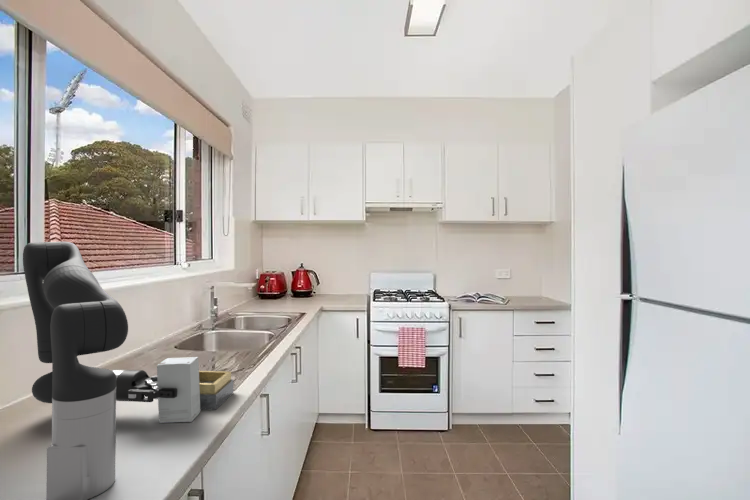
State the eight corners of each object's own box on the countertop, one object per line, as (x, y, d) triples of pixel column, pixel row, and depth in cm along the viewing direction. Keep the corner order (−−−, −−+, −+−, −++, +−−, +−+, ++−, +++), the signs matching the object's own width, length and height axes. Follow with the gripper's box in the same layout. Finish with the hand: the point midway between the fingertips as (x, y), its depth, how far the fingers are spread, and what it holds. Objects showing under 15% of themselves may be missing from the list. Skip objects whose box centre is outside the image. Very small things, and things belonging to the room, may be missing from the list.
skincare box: (200, 413, 102) (201, 356, 102) (191, 423, 96) (191, 363, 96) (167, 413, 101) (168, 356, 101) (155, 423, 95) (156, 363, 95)
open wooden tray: (215, 409, 104) (216, 385, 104) (163, 408, 104) (164, 384, 104) (237, 389, 119) (237, 367, 119) (191, 388, 119) (191, 366, 119)
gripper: (102, 380, 92) (170, 381, 91) (140, 362, 106) (199, 363, 105) (101, 411, 92) (170, 413, 91) (139, 389, 106) (199, 391, 105)
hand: (185, 386), depth 98 cm, fingers open, 8 cm apart
